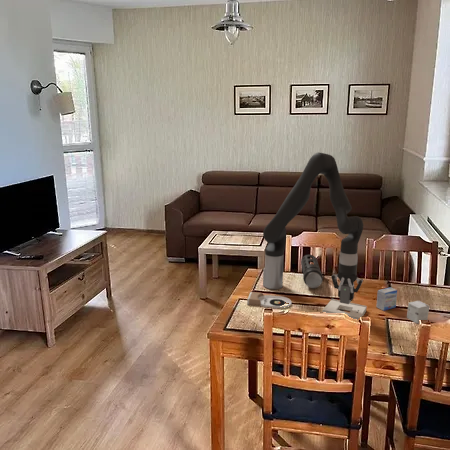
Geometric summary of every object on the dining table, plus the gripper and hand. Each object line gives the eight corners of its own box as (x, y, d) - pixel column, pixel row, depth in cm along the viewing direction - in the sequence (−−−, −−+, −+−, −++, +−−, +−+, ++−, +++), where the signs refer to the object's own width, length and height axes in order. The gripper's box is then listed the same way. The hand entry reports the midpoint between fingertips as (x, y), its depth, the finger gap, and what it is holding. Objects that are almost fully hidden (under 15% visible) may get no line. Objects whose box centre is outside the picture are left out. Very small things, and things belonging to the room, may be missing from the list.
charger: (339, 302, 198) (340, 285, 196) (342, 299, 201) (343, 282, 199) (348, 304, 196) (349, 287, 194) (351, 300, 200) (352, 284, 198)
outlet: (321, 314, 198) (322, 310, 197) (331, 303, 210) (331, 298, 209) (358, 323, 190) (359, 318, 190) (366, 310, 202) (366, 306, 202)
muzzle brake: (317, 271, 251) (318, 254, 248) (322, 291, 224) (324, 271, 221) (300, 271, 252) (300, 253, 249) (303, 290, 225) (304, 271, 222)
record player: (251, 290, 218) (292, 294, 214) (250, 296, 219) (292, 300, 214) (246, 300, 207) (290, 304, 203) (246, 306, 208) (290, 310, 203)
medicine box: (383, 311, 202) (385, 293, 200) (375, 307, 206) (377, 289, 203) (396, 307, 205) (397, 290, 203) (388, 304, 209) (390, 286, 207)
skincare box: (406, 318, 195) (408, 302, 193) (416, 315, 198) (418, 300, 196) (417, 323, 190) (419, 307, 188) (427, 321, 192) (429, 305, 190)
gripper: (329, 261, 194) (327, 298, 199) (362, 267, 188) (360, 305, 192) (334, 257, 201) (332, 292, 205) (366, 262, 194) (364, 299, 198)
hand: (345, 298), depth 198 cm, fingers closed on charger, 4 cm apart
